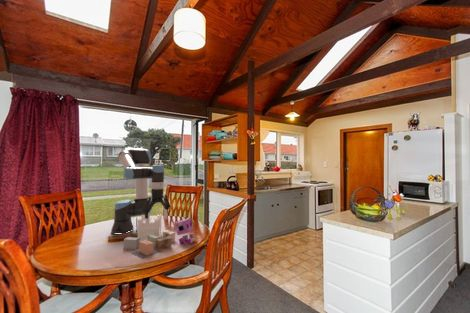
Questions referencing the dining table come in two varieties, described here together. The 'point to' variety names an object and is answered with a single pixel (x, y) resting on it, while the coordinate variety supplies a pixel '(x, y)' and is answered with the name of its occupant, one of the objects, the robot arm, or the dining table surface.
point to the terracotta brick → (146, 247)
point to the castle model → (149, 227)
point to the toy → (184, 230)
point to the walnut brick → (163, 243)
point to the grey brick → (131, 243)
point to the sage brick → (153, 239)
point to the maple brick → (170, 234)
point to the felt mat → (144, 254)
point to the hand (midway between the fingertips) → (156, 221)
